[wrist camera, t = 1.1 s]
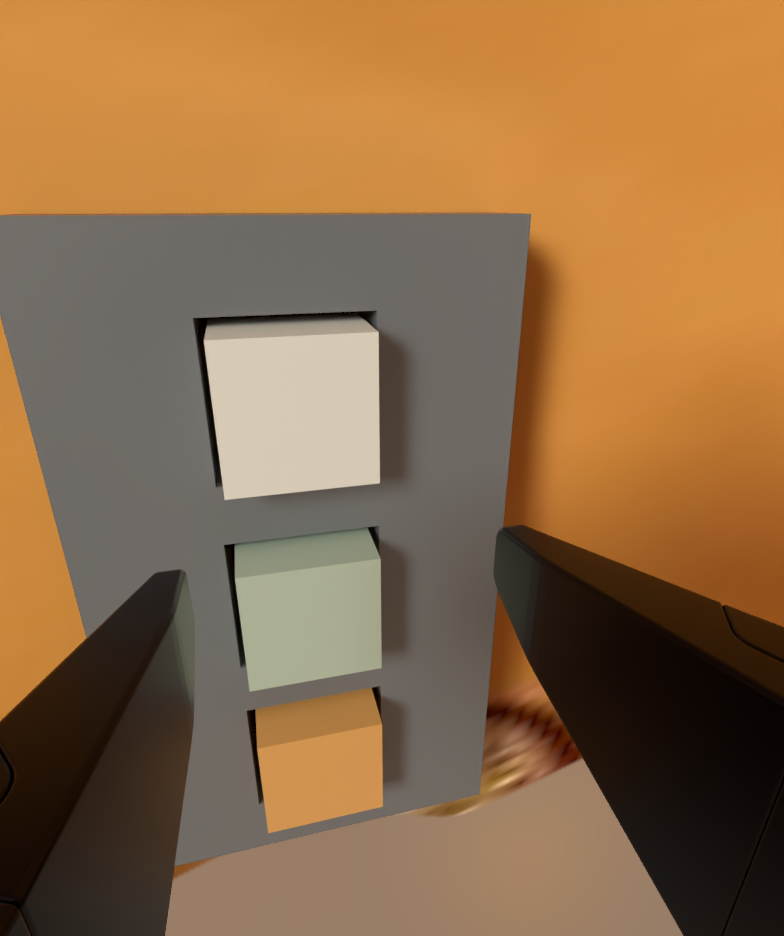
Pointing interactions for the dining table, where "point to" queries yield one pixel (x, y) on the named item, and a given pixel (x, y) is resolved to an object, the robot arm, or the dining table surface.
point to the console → (291, 514)
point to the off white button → (294, 402)
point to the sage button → (309, 606)
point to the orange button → (320, 758)
